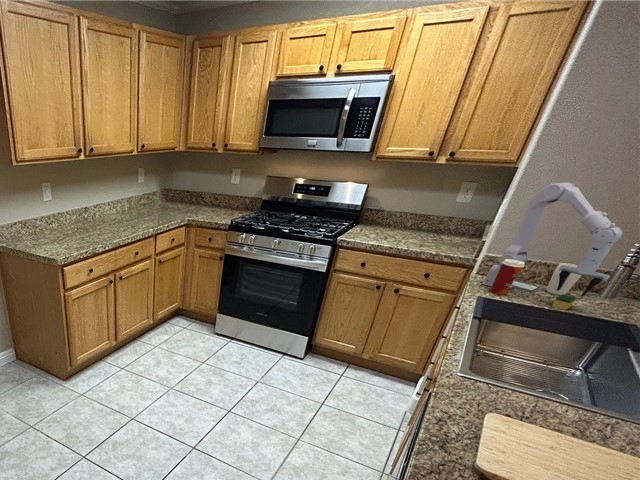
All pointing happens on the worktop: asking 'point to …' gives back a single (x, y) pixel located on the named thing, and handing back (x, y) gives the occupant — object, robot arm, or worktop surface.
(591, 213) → the robot arm
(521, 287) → the cloth
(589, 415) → the worktop surface
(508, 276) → the paper cup
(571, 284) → the cup
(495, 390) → the worktop surface
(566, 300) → the scrubber
